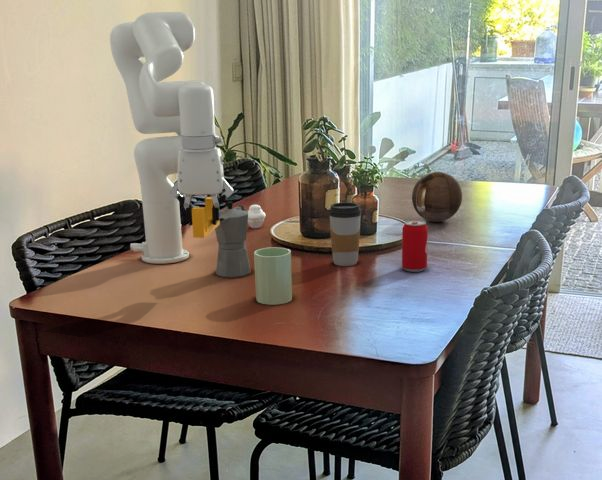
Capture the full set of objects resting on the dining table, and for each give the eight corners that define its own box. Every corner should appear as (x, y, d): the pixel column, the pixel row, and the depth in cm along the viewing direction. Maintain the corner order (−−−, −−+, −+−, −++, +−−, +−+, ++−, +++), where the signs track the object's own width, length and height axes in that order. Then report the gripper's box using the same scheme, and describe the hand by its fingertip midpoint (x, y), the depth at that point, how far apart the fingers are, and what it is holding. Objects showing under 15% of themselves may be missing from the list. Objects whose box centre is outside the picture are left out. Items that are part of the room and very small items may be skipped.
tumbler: (254, 305, 192) (252, 257, 188) (257, 293, 200) (255, 247, 196) (291, 304, 192) (290, 256, 188) (292, 293, 200) (291, 247, 196)
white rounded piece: (242, 228, 261) (241, 205, 258) (251, 224, 266) (249, 201, 264) (261, 229, 259) (260, 206, 256) (269, 225, 264) (268, 202, 261)
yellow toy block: (202, 223, 204) (200, 196, 202) (219, 224, 203) (218, 197, 201) (185, 237, 193) (184, 208, 191) (204, 237, 192) (202, 209, 190)
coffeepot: (241, 281, 210) (237, 207, 203) (205, 278, 212) (200, 206, 206) (263, 264, 223) (260, 195, 217) (229, 262, 226) (225, 193, 220)
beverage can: (429, 266, 217) (430, 219, 213) (424, 273, 212) (425, 225, 208) (404, 265, 219) (405, 218, 215) (399, 271, 214) (399, 224, 210)
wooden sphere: (446, 214, 273) (448, 166, 267) (470, 224, 259) (472, 173, 254) (403, 218, 268) (404, 170, 263) (424, 228, 255) (426, 177, 250)
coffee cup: (327, 259, 226) (326, 202, 221) (359, 258, 227) (359, 201, 221) (331, 268, 219) (330, 209, 213) (363, 266, 219) (363, 208, 214)
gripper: (238, 139, 194) (241, 219, 201) (163, 140, 194) (169, 220, 201) (235, 145, 187) (239, 227, 194) (157, 146, 187) (163, 228, 194)
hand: (203, 222), depth 198 cm, fingers closed on yellow toy block, 4 cm apart
